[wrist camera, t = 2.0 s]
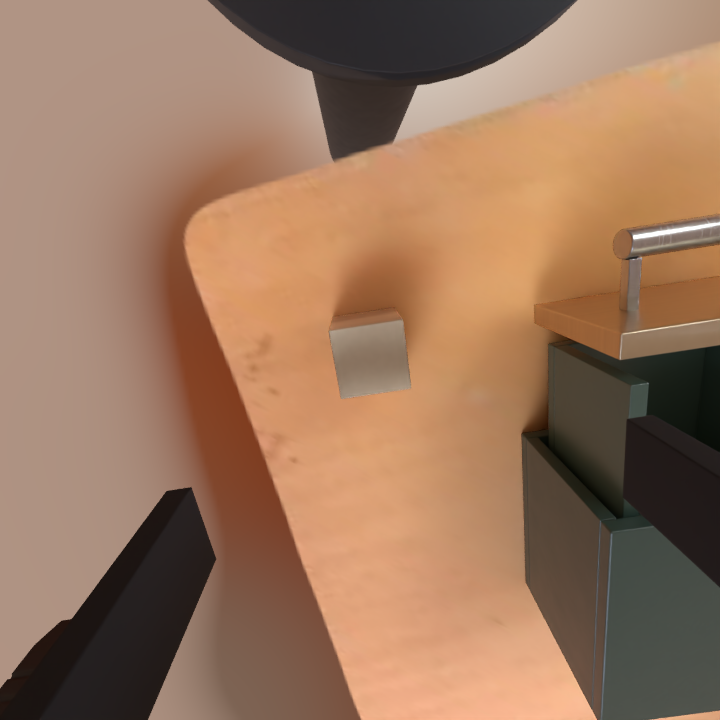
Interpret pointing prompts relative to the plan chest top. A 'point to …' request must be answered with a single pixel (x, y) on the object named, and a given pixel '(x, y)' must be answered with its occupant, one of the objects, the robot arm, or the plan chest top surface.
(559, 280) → the plan chest top surface
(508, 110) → the plan chest top surface
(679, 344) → the drawer
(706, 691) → the cabinet
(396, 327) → the block
